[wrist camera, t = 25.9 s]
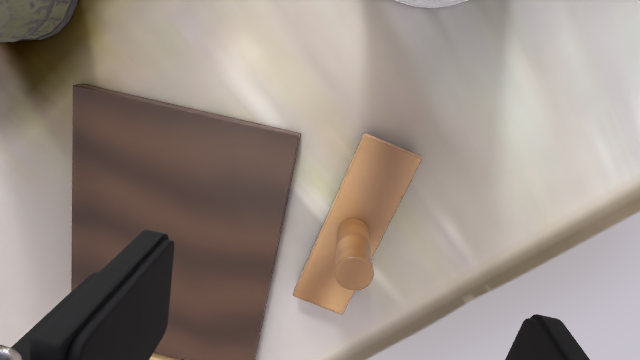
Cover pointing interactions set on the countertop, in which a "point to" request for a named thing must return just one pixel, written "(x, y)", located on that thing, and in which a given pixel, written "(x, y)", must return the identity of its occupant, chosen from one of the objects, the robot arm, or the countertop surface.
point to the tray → (183, 210)
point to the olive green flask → (33, 18)
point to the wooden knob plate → (356, 223)
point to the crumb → (162, 357)
